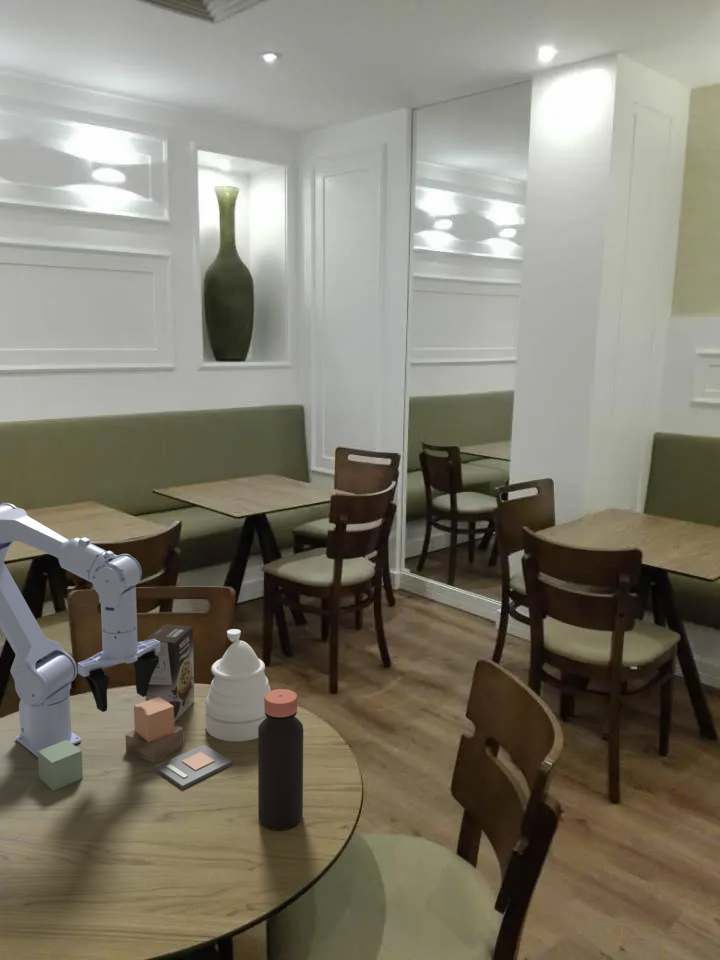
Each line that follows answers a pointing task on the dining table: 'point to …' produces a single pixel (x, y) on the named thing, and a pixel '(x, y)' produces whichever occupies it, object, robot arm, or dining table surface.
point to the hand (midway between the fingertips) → (122, 701)
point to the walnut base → (154, 745)
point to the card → (192, 766)
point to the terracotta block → (154, 719)
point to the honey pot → (236, 693)
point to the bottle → (280, 762)
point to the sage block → (60, 764)
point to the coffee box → (173, 668)
